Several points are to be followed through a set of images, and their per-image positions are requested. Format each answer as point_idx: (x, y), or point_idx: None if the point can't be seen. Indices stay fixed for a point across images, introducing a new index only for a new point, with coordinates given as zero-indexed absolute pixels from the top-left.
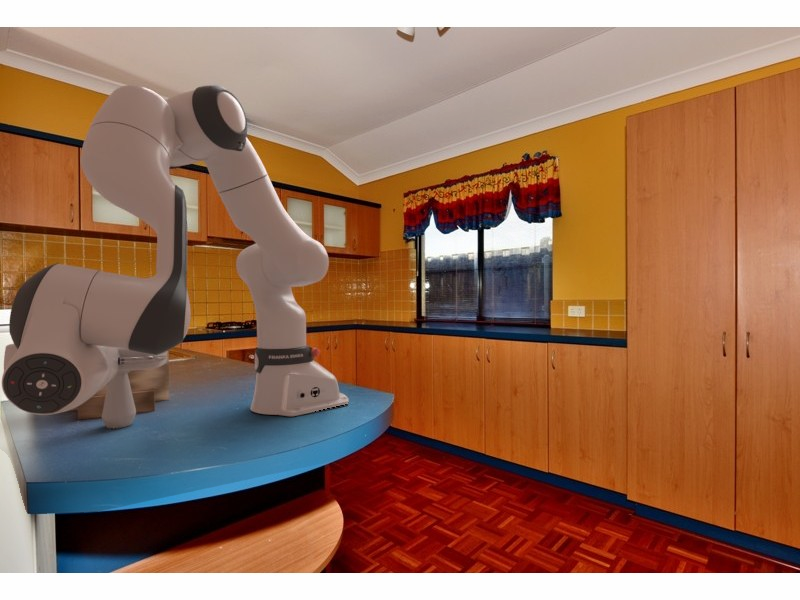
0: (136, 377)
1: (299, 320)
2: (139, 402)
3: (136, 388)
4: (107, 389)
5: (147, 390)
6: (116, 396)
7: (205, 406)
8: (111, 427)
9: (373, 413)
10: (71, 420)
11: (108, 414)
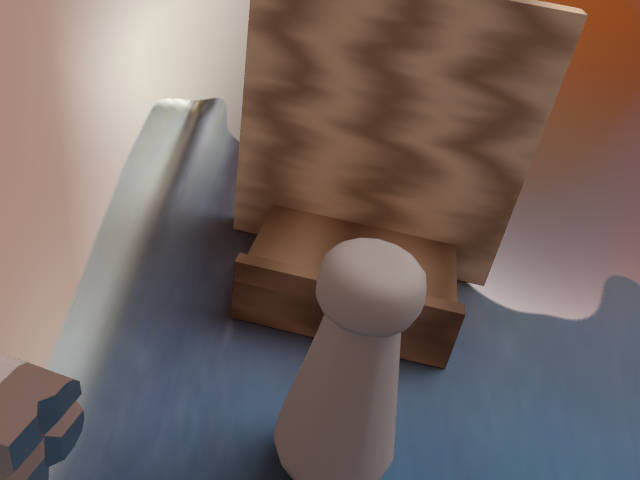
0: (414, 195)
1: None
2: (407, 331)
3: (405, 226)
4: (309, 361)
5: (434, 246)
6: (335, 415)
7: (620, 434)
8: None
9: None
10: (215, 308)
11: (293, 459)
